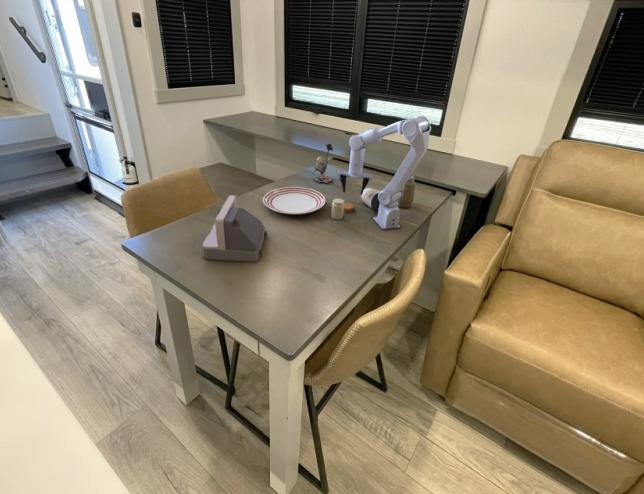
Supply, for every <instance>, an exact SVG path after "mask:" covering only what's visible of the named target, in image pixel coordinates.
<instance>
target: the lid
mask: <svg viewBox="0 0 644 494" xmlns="http://www.w3.org/2000/svg"><path fill="white" fill-rule="evenodd" d="M344 204H345V206H344V213H351V212H353V211H354V205H353V204H351V203H350V202H349V203H348V202H344Z"/></svg>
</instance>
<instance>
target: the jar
mask: <svg viewBox="0 0 644 494" xmlns="http://www.w3.org/2000/svg"><path fill="white" fill-rule="evenodd" d="M344 203H345V200H344V199H342V198H334V199H333V202H332V203H331V210H330V211H331V212H330V217H331V218H332V219H333V220H342V219H344V214H345V212H344V206H345V204H344Z"/></svg>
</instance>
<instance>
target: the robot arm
mask: <svg viewBox="0 0 644 494" xmlns="http://www.w3.org/2000/svg"><path fill="white" fill-rule="evenodd" d="M431 131H432V127H431V123H430V121H429V119H428V118H427V117H426V116H423V115H422V116H421V115H420V116H417V117H412V118H408V119H403V120H399V121H396V122H394V123H391V124H389V125H387V126H385V127H382V128H379V127H375V126H372V127H369V128H368V129H367V130H366V131H360V132H359V133H358V134H353V135H352V136H351V137H350V138H349V141H348V145H349V147H350V156H349V166H348V170H338V171H337V177H339V180H340V183H341V186H342V193H346V189H347V187H346V185H347V178H353V179H361V180H362V184H361V190H360V196H361V195H362V194H363V191H364V189H366V188H367V186H368V184H369V182H370V181H373V174H371V173H367V172H363V168H364V161H365V155H366V151H367V148H368V147H370V146H373V145H376V144H378V143H381V142H382V141H383V138H384V137H387V136H390V135H393V134H397V133H398V134H399V135H403V137H404V138H405V139H406V140H407V142H408V144H409V146H410V149H409V151H408V152H407V154H406V155H405V157H404V159H403V160H402V162H401V164H400V166H399V167H398V169H397V170H396V172H395V174H394V175H393V177H392V179H391V180H390V182H388V183H387V184H386V185H385V186H384V188H383V189H382V190H379V191H380V192H379V194H378V200H379V202H380V205H379V211H378V212H377V216H373V217H372V219H373V220H374V221H375V222H376V224H378V226H379V227H380V228H381V230H389V229H396V228H397V229H398V228H401V225H400V219H401V215H402V214H401V211H400V209H399V206H398V200H399V199H400V198H401V197H402V195H403V190H404V188H405V187H404V185H405V183H406V182H407V180H408V179H409V177H410V175H411V174H412V175H413V173H414V171H415V170H416V168H417V167H418V165H419V163H420V161H421V160H422V159H423V157H424V155H425V154H426V152H427V151H428V149H429V142H430V133H431Z"/></svg>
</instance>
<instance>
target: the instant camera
mask: <svg viewBox="0 0 644 494" xmlns="http://www.w3.org/2000/svg"><path fill="white" fill-rule="evenodd" d="M265 226H266V225H264V223H263V221H262V220H260V219H259V218H258V217H256V216H254V215H253V214H252V213H250V212H249V211H247V210H246V209H245V208H243V207H239V206H238V197H237V195H228V197H227V199H226V200H225V202H224V204H223V205H222V206H220V207H219V208H218V211H217V216H216V218H215V220H214V224H213V225H212V226H211V227H212V229H211V230H210V231H209V233H208V235H207V236H206V238H205V239H204V241H203V243H202V246H203V255H204V259H205V260H214V261H235V262H251V263H252V262H257V261H258V260H259V258H260V256H262V254H263V251H262V247H263V244H264V240H265V237H267V236H268V231H267V230H266V227H265Z"/></svg>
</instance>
